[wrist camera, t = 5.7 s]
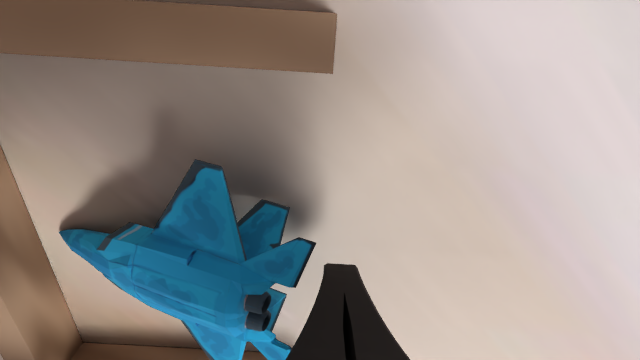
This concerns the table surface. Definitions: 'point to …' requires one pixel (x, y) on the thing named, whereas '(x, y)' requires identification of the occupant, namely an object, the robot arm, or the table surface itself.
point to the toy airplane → (206, 264)
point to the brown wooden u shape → (142, 46)
